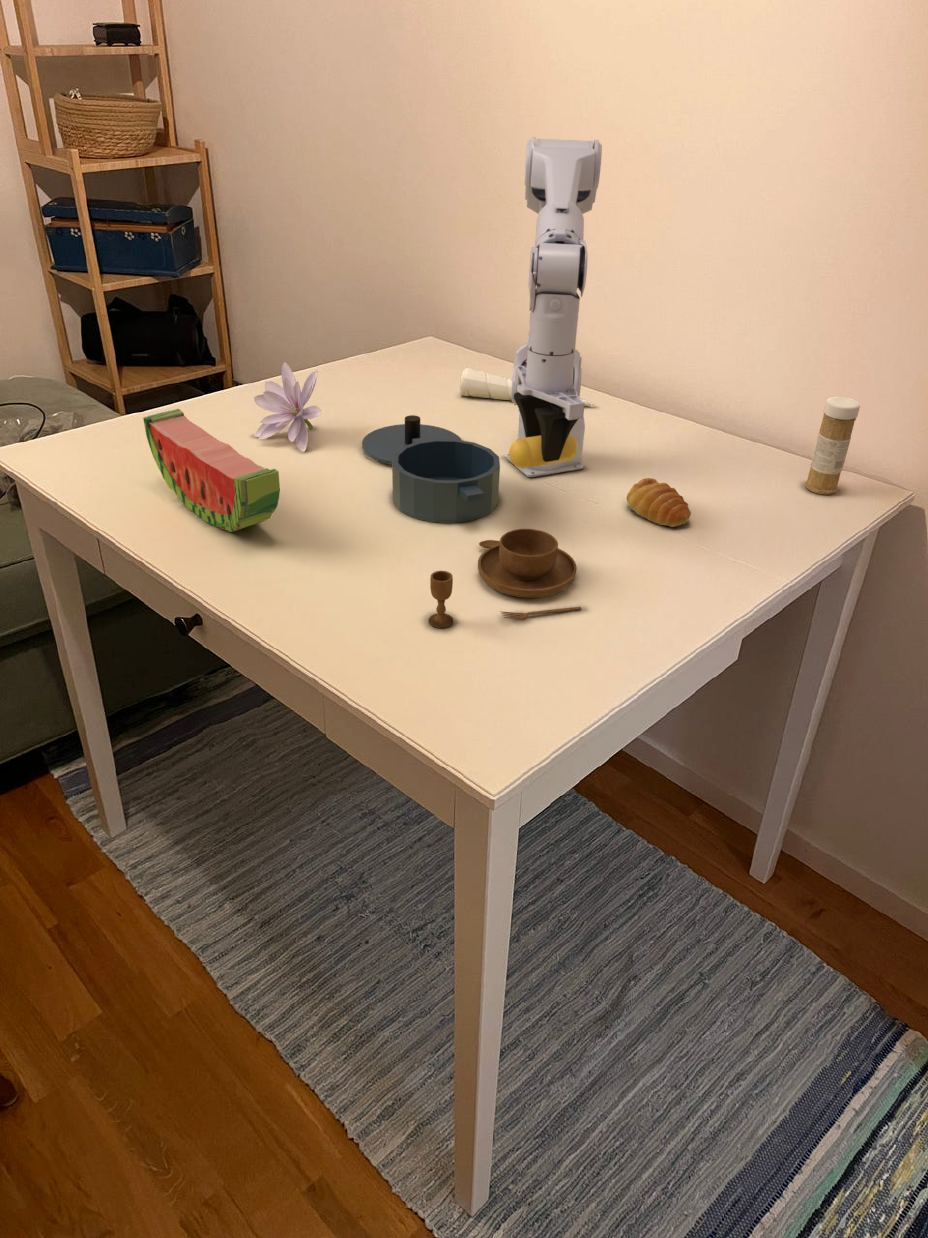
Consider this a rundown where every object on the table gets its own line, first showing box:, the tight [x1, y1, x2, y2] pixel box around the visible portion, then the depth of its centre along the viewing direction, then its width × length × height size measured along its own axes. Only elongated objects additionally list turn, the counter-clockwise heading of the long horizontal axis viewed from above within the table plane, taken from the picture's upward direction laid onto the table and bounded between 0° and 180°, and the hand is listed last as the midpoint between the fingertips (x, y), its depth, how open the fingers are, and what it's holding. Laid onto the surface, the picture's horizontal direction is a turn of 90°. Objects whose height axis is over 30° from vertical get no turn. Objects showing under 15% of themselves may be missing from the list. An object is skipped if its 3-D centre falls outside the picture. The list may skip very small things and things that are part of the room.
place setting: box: [428, 528, 582, 629], centre depth 110 cm, size 18×20×6 cm
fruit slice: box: [142, 408, 281, 533], centre depth 123 cm, size 26×6×10 cm, turn 41°
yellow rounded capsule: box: [508, 434, 577, 468], centre depth 120 cm, size 9×4×4 cm, turn 114°
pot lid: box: [361, 414, 462, 465], centre depth 143 cm, size 16×16×5 cm
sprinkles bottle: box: [805, 395, 861, 495], centre depth 133 cm, size 5×5×13 cm
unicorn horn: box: [459, 367, 595, 407], centre depth 162 cm, size 5×24×5 cm, turn 75°
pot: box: [391, 437, 501, 524], centre depth 129 cm, size 15×20×6 cm
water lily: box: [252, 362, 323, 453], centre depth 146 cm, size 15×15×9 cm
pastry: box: [625, 477, 692, 528], centre depth 127 cm, size 9×7×4 cm
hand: (543, 453), depth 120 cm, fingers closed on yellow rounded capsule, 4 cm apart
